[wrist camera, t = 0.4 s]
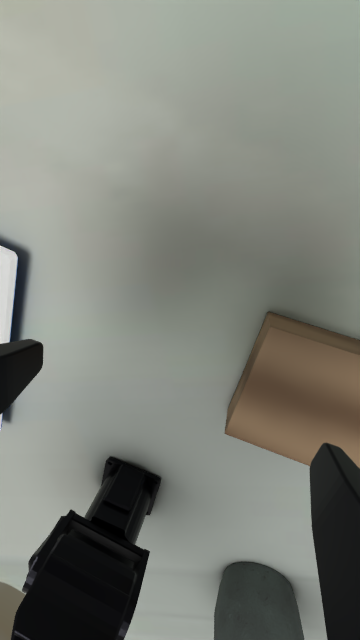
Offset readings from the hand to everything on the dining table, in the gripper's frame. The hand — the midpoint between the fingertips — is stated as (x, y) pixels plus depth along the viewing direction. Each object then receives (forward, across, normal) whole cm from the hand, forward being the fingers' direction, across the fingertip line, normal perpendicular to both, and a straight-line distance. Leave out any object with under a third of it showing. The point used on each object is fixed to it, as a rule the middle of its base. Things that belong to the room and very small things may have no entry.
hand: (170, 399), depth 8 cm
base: (+14, -9, +6) cm, 18 cm away
